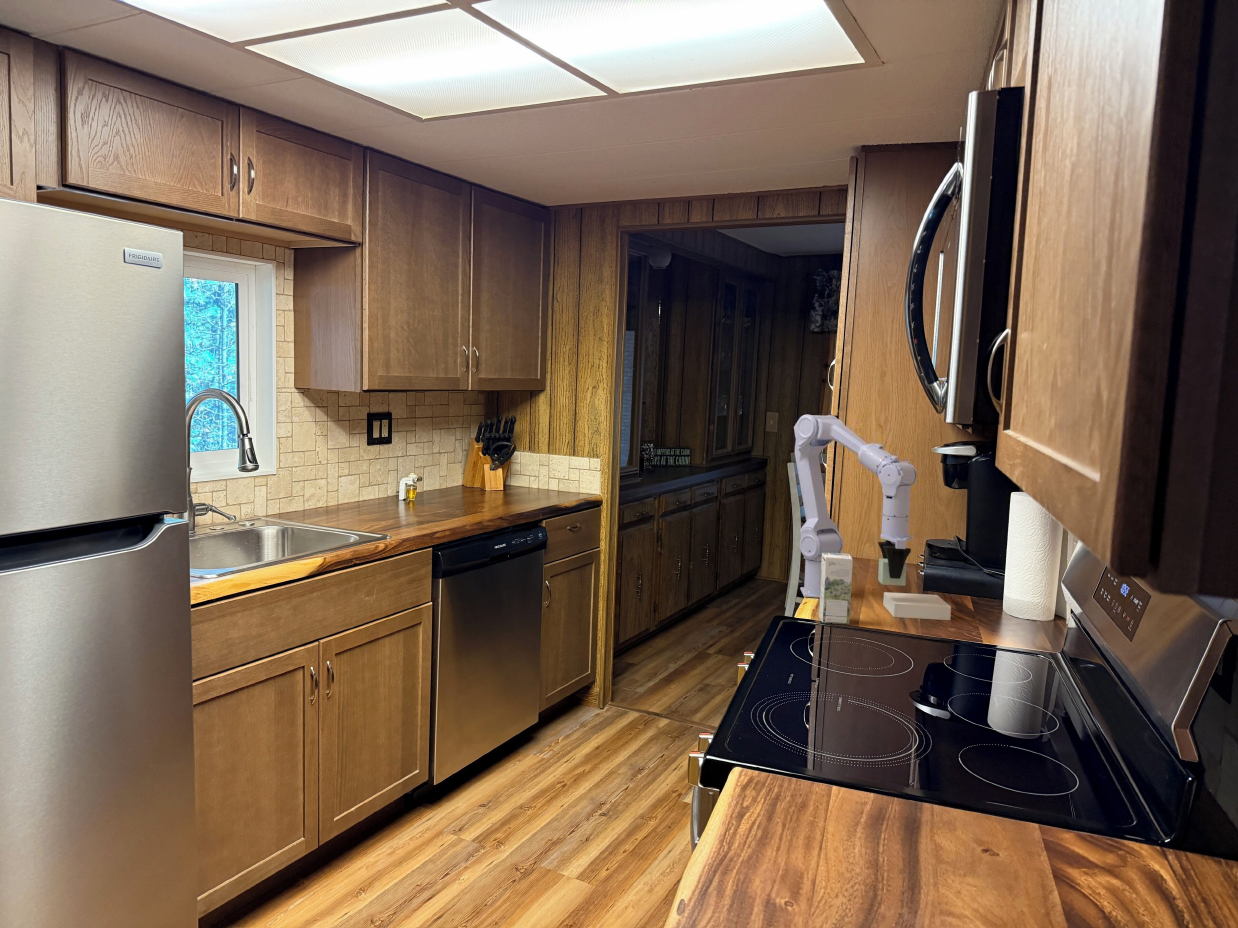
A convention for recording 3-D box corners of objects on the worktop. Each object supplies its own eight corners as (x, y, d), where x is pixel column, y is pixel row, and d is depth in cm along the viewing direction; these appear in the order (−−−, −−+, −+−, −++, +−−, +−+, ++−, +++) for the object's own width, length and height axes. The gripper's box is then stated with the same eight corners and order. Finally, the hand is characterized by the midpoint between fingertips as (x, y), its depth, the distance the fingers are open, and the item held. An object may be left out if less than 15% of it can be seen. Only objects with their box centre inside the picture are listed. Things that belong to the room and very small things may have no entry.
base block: (883, 604, 200) (883, 592, 200) (936, 607, 199) (936, 594, 199) (894, 616, 188) (894, 603, 188) (950, 620, 187) (951, 606, 187)
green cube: (878, 580, 194) (879, 558, 194) (900, 581, 194) (901, 559, 193) (882, 584, 189) (883, 562, 189) (905, 585, 189) (906, 563, 188)
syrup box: (845, 618, 185) (848, 552, 184) (849, 625, 180) (853, 557, 179) (818, 617, 186) (821, 551, 185) (822, 623, 180) (825, 556, 179)
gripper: (921, 520, 183) (918, 583, 184) (907, 512, 197) (904, 570, 198) (887, 519, 184) (884, 581, 185) (875, 511, 198) (873, 569, 199)
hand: (892, 575), depth 191 cm, fingers closed on green cube, 5 cm apart
